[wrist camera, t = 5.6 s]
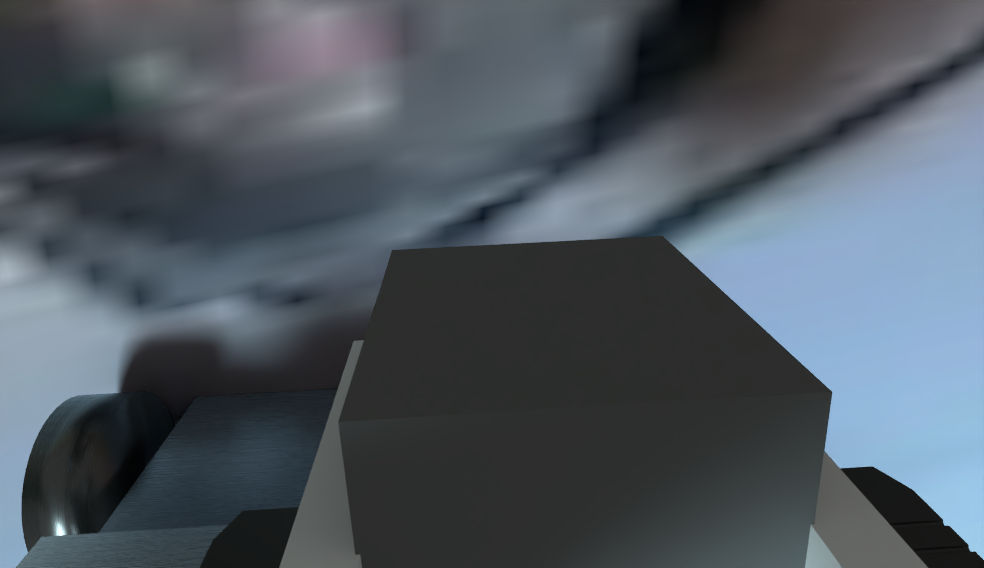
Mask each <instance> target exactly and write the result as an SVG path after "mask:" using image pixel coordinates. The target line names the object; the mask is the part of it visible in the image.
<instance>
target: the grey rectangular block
mask: <svg viewBox="0 0 984 568" xmlns="http://www.w3.org/2000/svg"><path fill="white" fill-rule="evenodd" d="M831 397H832V391H831V390H829V389H828V388H827V387H826V386H825V385H824V384H823V383H822V382H821V381H820V380H819V379H817V378H816V377H815V376H814V375H813V374H812V373H811V372H810V371H809V370H808V369H807V368H805V367H804V366H803V365H802V364H801V363H800V362H799V361H798V360H797V359H796V358H795V357H794V356H792V355H791V354H790V353H789V352H788V351H787V350H786V349H785V348H784V347H783V346H782V345H780V344H779V343H778V342H777V341H776V340H775V339H774V338H773V337H772V336H771V335H770V334H769V333H767V332H766V331H765V330H764V329H763V328H762V327H761V326H760V325H759V324H758V323H757V322H755V321H754V320H753V319H752V318H751V317H750V316H749V315H748V314H747V313H746V312H745V311H743V310H742V309H741V308H740V307H739V306H738V305H737V304H736V303H735V302H734V301H733V300H732V299H730V298H729V297H728V296H727V295H726V294H725V293H724V292H723V291H722V290H721V289H720V288H718V287H717V286H716V285H715V284H714V283H713V282H712V281H711V280H710V279H709V278H708V277H707V276H705V275H704V274H703V273H702V272H701V271H700V270H699V269H698V268H697V267H696V266H695V265H693V264H692V263H691V262H690V261H689V260H688V259H687V258H686V257H685V256H684V255H683V254H681V253H680V252H679V251H678V250H677V249H676V248H675V247H674V246H673V245H672V244H671V243H670V242H668V241H667V240H666V239H665V238H664V237H663V236H654V237H635V238H616V239H597V240H578V241H559V242H540V243H521V244H501V245H482V246H463V247H444V248H425V249H406V250H392V253H391V256H390V259H389V262H388V266H387V269H386V272H385V275H384V278H383V281H382V285H381V288H380V291H379V294H378V297H377V300H376V304H375V307H374V310H373V313H372V316H371V319H370V323H369V326H368V329H367V332H366V335H365V338H364V342H363V345H362V348H361V351H360V354H359V357H358V361H357V364H356V367H355V370H354V373H353V376H352V380H351V383H350V386H349V389H348V392H347V395H346V399H345V402H344V405H343V408H342V411H341V414H340V418H339V421H338V425H339V432H340V440H341V448H342V455H343V463H344V471H345V479H346V486H347V494H348V502H349V510H350V517H351V525H352V533H353V540H354V548H355V555H360V556H361V564H362V568H805V564H806V556H807V549H808V542H809V534H810V527H811V524H814V522H815V515H816V507H817V500H818V493H819V485H820V478H821V471H822V463H823V456H824V449H825V441H826V434H827V426H828V419H829V412H830V404H831Z"/></svg>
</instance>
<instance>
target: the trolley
mask: <svg viewBox="0 0 984 568" xmlns="http://www.w3.org/2000/svg"><path fill="white" fill-rule="evenodd" d="M337 390H338V389H329V390H311V391H293V392H276V393H258V394H240V395H222V396H204V397H196V398H195V399H194V401H193V402H192V404H191V405H190V406H189V408H188V409H187V410H186V412H185V413H184V415H183V416H182V417H181V419H180V420H179V422H178V423H177V424H176V426H175V427H174V424H173V421H172V418H171V416H170V414H169V412H168V410H167V408H166V406H165V405H164V403H163V402H162V401H161V400H160V399H159V398H158V397H157V396H156V395H154V394H152V393H149V392H130V393H113V394H95V395H79V396H75V397H72V398H70V399H68V400H66V401H65V402H63V403H62V404H61V405H60V406H58V407H57V408H56V409H55V410H54V412H53V413H52V414H51V415H50V416H49V418H48V419H47V420H46V422H45V423H44V425H43V427H42V429H41V430H40V432H39V434H38V436H37V438H36V441H35V443H34V445H33V448H32V451H31V454H30V457H29V460H28V464H27V468H26V472H25V478H24V483H23V492H22V527H23V533H24V539H25V543H26V547H27V551H28V554H27V555H26V556H25V557H24V559H23V560H22V561H21V562H20V563H19V565H18V566H17V567H16V568H200V566H201V564H202V562H203V559H204V557H205V555H206V553H207V551H208V549H209V547H210V545H211V543H212V541H213V539H214V538H215V537H216V536H217V535H218V534H220V533H221V532H222V531H223V530H224V529H225V528H226V527H227V526H228V525H229V524H230V523H231V522H232V521H233V520H234V519H235V518H236V517H237V516H238V515H239V514H240V513H241V512H242V511H247V510H262V509H277V508H292V507H299V506H300V503H301V500H302V497H303V494H304V491H305V488H306V485H307V482H308V479H309V476H310V472H311V469H312V466H313V463H314V460H315V457H316V454H317V451H318V448H319V445H320V442H321V439H322V436H323V433H324V430H325V427H326V424H327V421H328V417H329V414H330V411H331V408H332V405H333V402H334V399H335V396H336V393H337Z"/></svg>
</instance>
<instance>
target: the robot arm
mask: <svg viewBox="0 0 984 568" xmlns="http://www.w3.org/2000/svg"><path fill="white" fill-rule="evenodd" d="M363 342H364V340H358V341H353V344H352V347H351V350H350V353H349V356H348V359H347V363H346V366H345V369H344V372H343V375H342V378H341V381H340V384H339V387H338V390H337V393H336V396H335V399H334V402H333V405H332V408H331V411H330V414H329V417H328V421H327V424H326V427H325V430H324V433H323V436H322V439H321V442H320V445H319V448H318V451H317V454H316V457H315V460H314V463H313V466H312V469H311V472H310V476H309V479H308V482H307V485H306V488H305V491H304V494H303V497H302V500H301V503H300V506H299V507H292V508H277V509H262V510H247V511H242V512H241V513H240V514H239V515H238V516H237V517H236V518H235V519H234V520H233V521H232V522H231V523H230V524H229V525H228V526H227V527H226V528H225V529H224V530H223V531H222V532H221V533H220V534H218V535H217V536H216V537H215V538H214V539H213V541H212V543H211V545H210V547H209V549H208V551H207V553H206V555H205V557H204V559H203V562H202V564H201V566H200V568H362V564H361V556H360V555H355V548H354V540H353V533H352V525H351V517H350V510H349V502H348V494H347V486H346V479H345V471H344V463H343V455H342V448H341V440H340V432H339V425H338V421H339V418H340V414H341V411H342V408H343V405H344V402H345V399H346V395H347V392H348V389H349V386H350V383H351V380H352V376H353V373H354V370H355V367H356V364H357V361H358V357H359V354H360V351H361V348H362V345H363ZM805 568H984V560H983V559H982V558H981V557H980V556H979V555H978V554H977V553H976V552H970V550H969V548H968V544H967V543H966V542H965V541H964V540H963V539H962V538H961V537H960V536H959V535H958V534H957V533H956V532H955V531H954V530H953V529H952V528H951V527H950V526H944V524H943V519H942V518H941V517H940V516H939V515H938V514H937V513H936V512H935V511H934V510H933V509H932V508H931V507H930V506H929V505H928V504H927V503H926V502H925V501H923V500H922V499H921V498H920V497H919V496H918V495H917V494H916V493H915V492H914V491H913V490H912V489H910V488H909V487H907V486H905V485H903V484H902V483H900V482H898V481H897V480H895V479H893V478H891V477H890V476H888V475H886V474H885V473H883V472H881V471H879V470H878V469H876V468H874V467H858V468H842V469H840V468H839V467H838V466H837V465H836V464H835V462H834V461H833V460H832V459H831V458H830V457H829V456H828V455H827V453H826V452H825V451H824V456H823V463H822V471H821V478H820V485H819V493H818V500H817V507H816V515H815V522H814V524H811V527H810V534H809V542H808V549H807V556H806V564H805Z"/></svg>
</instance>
